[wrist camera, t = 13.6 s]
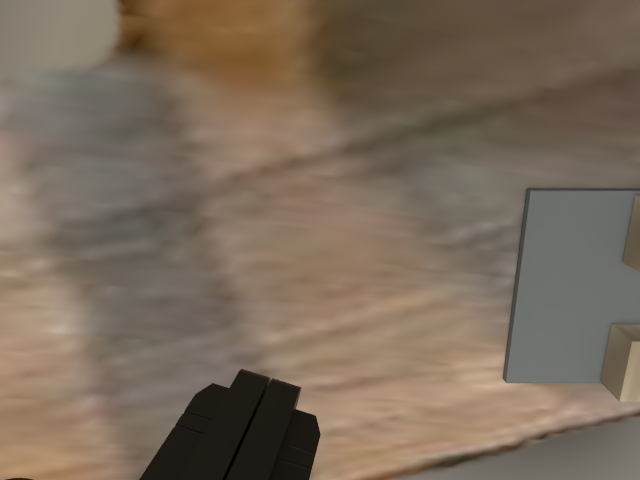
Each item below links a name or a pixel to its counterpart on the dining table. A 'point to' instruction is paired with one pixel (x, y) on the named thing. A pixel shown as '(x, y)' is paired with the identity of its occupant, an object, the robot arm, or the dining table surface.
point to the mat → (570, 284)
